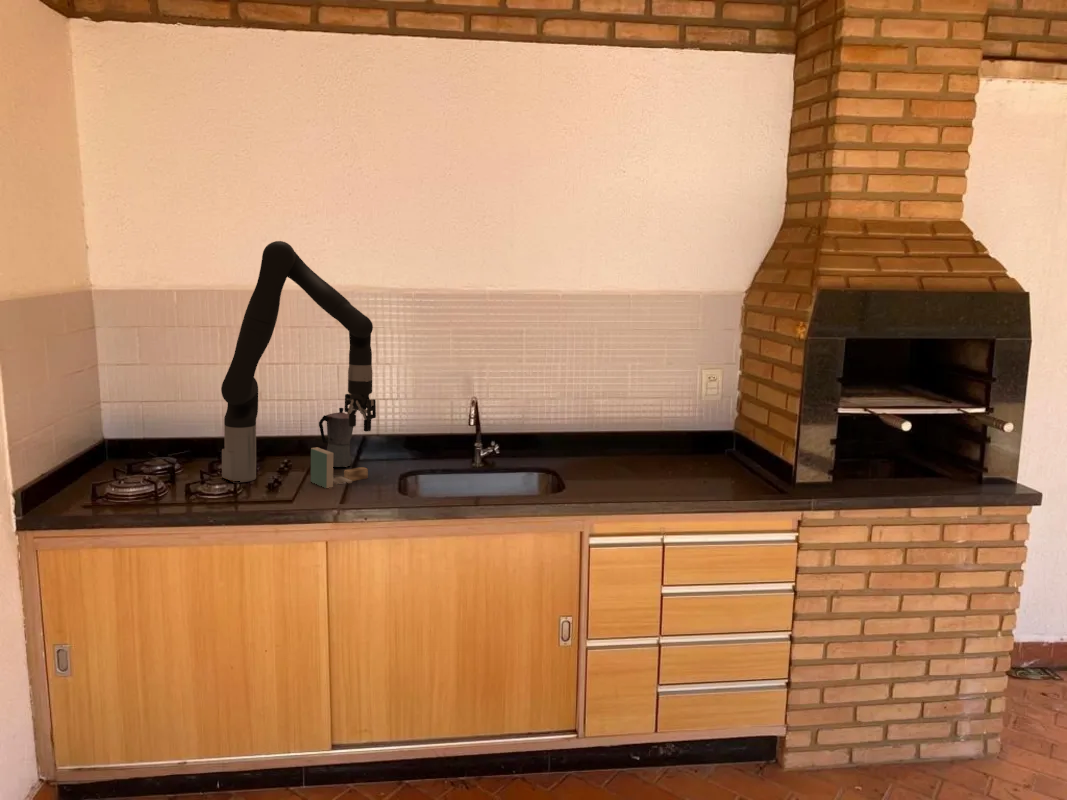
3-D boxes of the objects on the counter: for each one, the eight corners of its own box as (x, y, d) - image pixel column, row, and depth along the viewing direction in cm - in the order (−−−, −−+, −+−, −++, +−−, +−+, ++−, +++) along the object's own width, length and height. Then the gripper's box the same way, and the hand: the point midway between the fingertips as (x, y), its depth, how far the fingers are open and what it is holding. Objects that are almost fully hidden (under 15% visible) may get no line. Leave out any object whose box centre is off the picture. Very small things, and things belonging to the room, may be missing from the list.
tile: (326, 489, 247) (326, 453, 245) (310, 482, 253) (310, 448, 251) (333, 487, 249) (333, 452, 247) (317, 481, 255) (317, 447, 253)
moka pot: (363, 464, 278) (364, 407, 275) (330, 472, 265) (331, 413, 262) (343, 459, 283) (344, 403, 280) (309, 467, 270) (310, 409, 267)
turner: (359, 475, 264) (359, 466, 264) (370, 479, 260) (370, 469, 260) (327, 481, 256) (327, 471, 255) (338, 485, 252) (338, 475, 251)
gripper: (337, 376, 257) (337, 426, 260) (362, 382, 247) (362, 434, 250) (357, 374, 262) (357, 423, 265) (383, 380, 252) (382, 431, 255)
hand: (359, 428), depth 257 cm, fingers open, 8 cm apart
